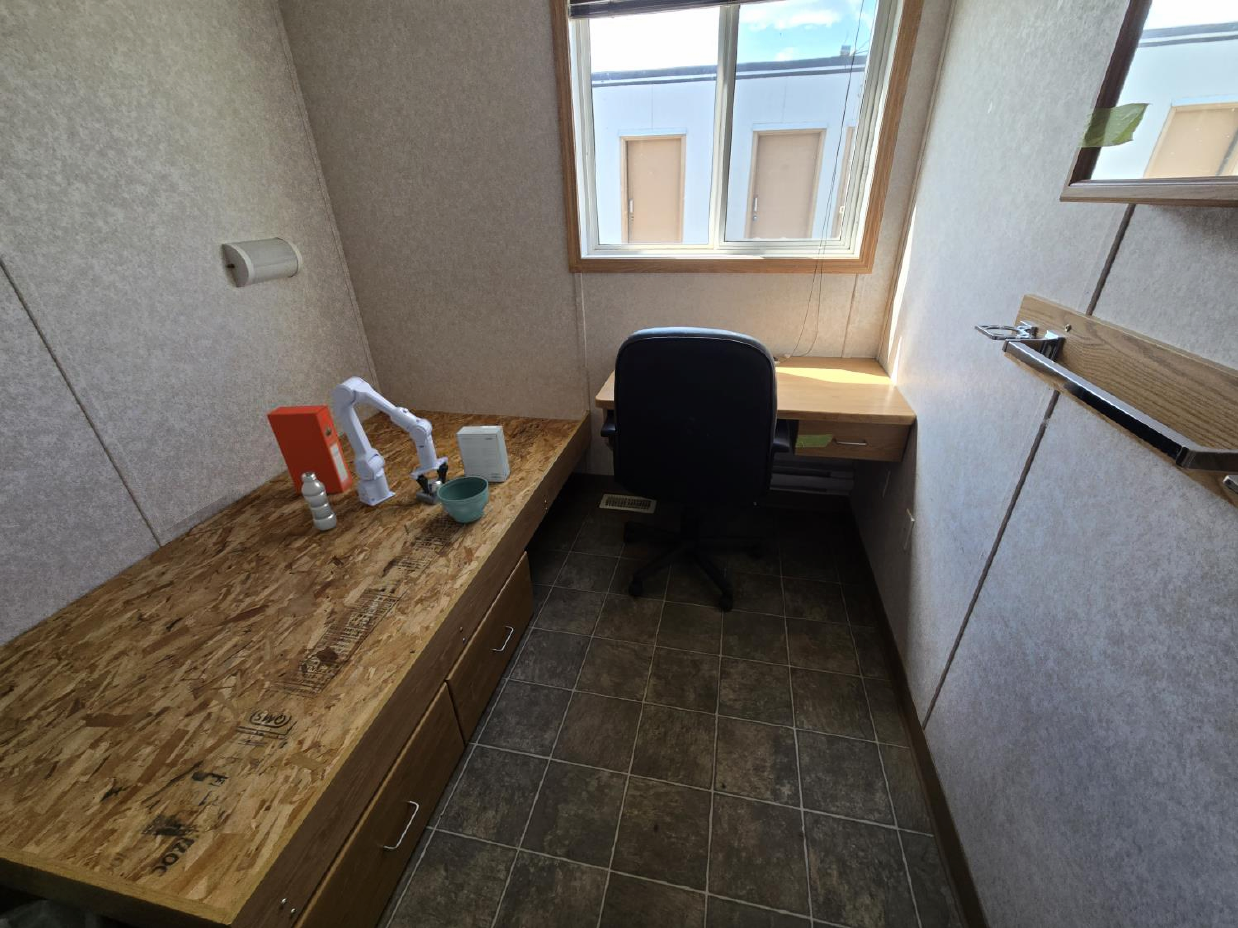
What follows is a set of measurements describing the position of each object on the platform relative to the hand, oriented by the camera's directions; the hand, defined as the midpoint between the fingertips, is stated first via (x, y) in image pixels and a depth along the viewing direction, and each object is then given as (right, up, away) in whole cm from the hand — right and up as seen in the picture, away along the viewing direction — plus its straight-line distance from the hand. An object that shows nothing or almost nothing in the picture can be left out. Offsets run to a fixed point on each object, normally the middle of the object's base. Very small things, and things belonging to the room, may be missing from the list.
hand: (435, 488), depth 181 cm
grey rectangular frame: (0, -3, +1) cm, 3 cm away
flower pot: (+16, -9, -12) cm, 22 cm away
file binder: (-45, -1, +10) cm, 46 cm away
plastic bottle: (-30, -13, -14) cm, 36 cm away
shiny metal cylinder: (0, -3, +1) cm, 3 cm away
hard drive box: (+16, +3, +12) cm, 21 cm away
